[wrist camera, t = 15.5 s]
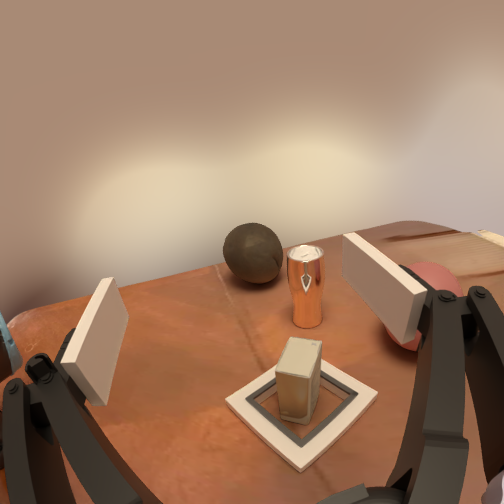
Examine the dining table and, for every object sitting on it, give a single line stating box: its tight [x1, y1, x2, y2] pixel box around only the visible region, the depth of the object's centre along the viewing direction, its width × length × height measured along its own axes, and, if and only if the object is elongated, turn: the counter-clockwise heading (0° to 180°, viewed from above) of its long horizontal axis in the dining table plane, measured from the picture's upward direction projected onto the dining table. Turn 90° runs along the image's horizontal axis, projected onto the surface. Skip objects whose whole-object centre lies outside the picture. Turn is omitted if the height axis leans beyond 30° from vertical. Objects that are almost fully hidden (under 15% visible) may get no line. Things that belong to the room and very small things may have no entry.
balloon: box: [384, 262, 463, 351], centre depth 38 cm, size 15×20×15 cm
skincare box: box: [275, 337, 322, 425], centre depth 34 cm, size 6×4×12 cm
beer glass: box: [287, 245, 325, 328], centre depth 52 cm, size 7×7×15 cm
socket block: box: [225, 359, 378, 473], centre depth 36 cm, size 16×16×2 cm
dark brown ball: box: [223, 223, 283, 283], centre depth 68 cm, size 14×14×15 cm
